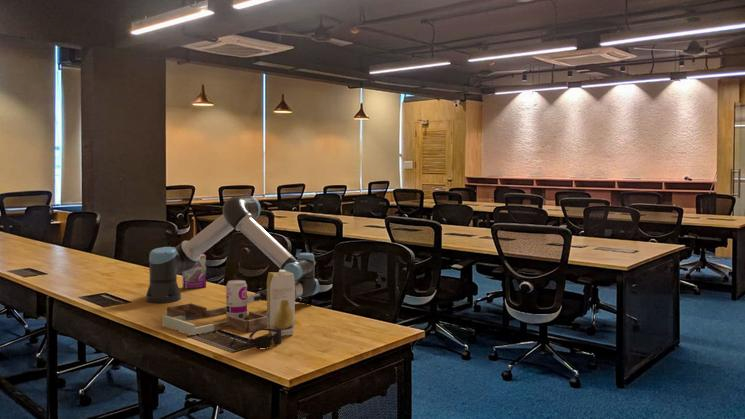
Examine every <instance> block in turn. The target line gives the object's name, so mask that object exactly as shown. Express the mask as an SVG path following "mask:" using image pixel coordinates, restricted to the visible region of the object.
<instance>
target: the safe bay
mask: <svg viewBox="0 0 745 419" xmlns="http://www.w3.org/2000/svg"><path fill="white" fill-rule="evenodd" d="M161 317H162V318H161V320H162V321H161V322H162V323H161V324H162V325H164V326H163V327H165V326H166V327H165V328H168V327H169V328H168V329H170V328H172V329H171V330H173V329H175V330H174V331H176V330H178V331H177V332H179V331H181V332H180V333H182V332H184V333H183V334H185V333H187V334H186V335H188V334H190V335H189V336H191V335H195V336H197V335H196V334H199V335H203V334H206V333H207V334H208V333H212V332H215V331H214V323H210V324H206V325H201V326H197V327H196V324H195V323H192V322H188V321H185V319H183V318H185V317H184V316H177V317H170V316H167V314H163V315H161ZM202 333H203V334H202Z"/></svg>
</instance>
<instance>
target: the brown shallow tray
mask: <svg viewBox="0 0 745 419" xmlns="http://www.w3.org/2000/svg"><path fill="white" fill-rule="evenodd" d="M166 309H167V310H166V311H167V312H166V315H167V316H170V317H177V316H184V317H185V318H183V319H185V322H187V321H192V320H196V319H200V318H203V319H206V318H209V317H211V318H212V317H216V316H220V315H225V314H226V306H223V307H218V308H211V309H208V308H207V307H206V306H202V305H199V304H196V303H192V302H191V303H190V302H189V303H185V304H180V305H175V306H167V307H166ZM186 320H187V321H186ZM213 324H214V331H213V332H216V331H220V330H224V329H228V328H229V329H234V330H237V331H241V332H244V333H250V332H254V331H255V330H257V329H267V328H266V327H267V311H265V312H260V313H257V312H254V311H249V312H248V320H246V319H240V318H236V317H233V316H228V318H227V320H224V321H219V322H214V323H213Z"/></svg>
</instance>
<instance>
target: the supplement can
mask: <svg viewBox="0 0 745 419" xmlns="http://www.w3.org/2000/svg"><path fill="white" fill-rule="evenodd" d="M246 282H247V281H246V280H243V279H232V280H228V281H227V284H226V285H225V286H226V289H225V290H226V292H225V293H226V295H225V296H226V302H225V305H226V306H225V307H226V313H225V314H226V318H227V319H228V316H233V317H236V318H240V319H243V320H246V318H248V303H247V296H248V284H247V283H246Z"/></svg>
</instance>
